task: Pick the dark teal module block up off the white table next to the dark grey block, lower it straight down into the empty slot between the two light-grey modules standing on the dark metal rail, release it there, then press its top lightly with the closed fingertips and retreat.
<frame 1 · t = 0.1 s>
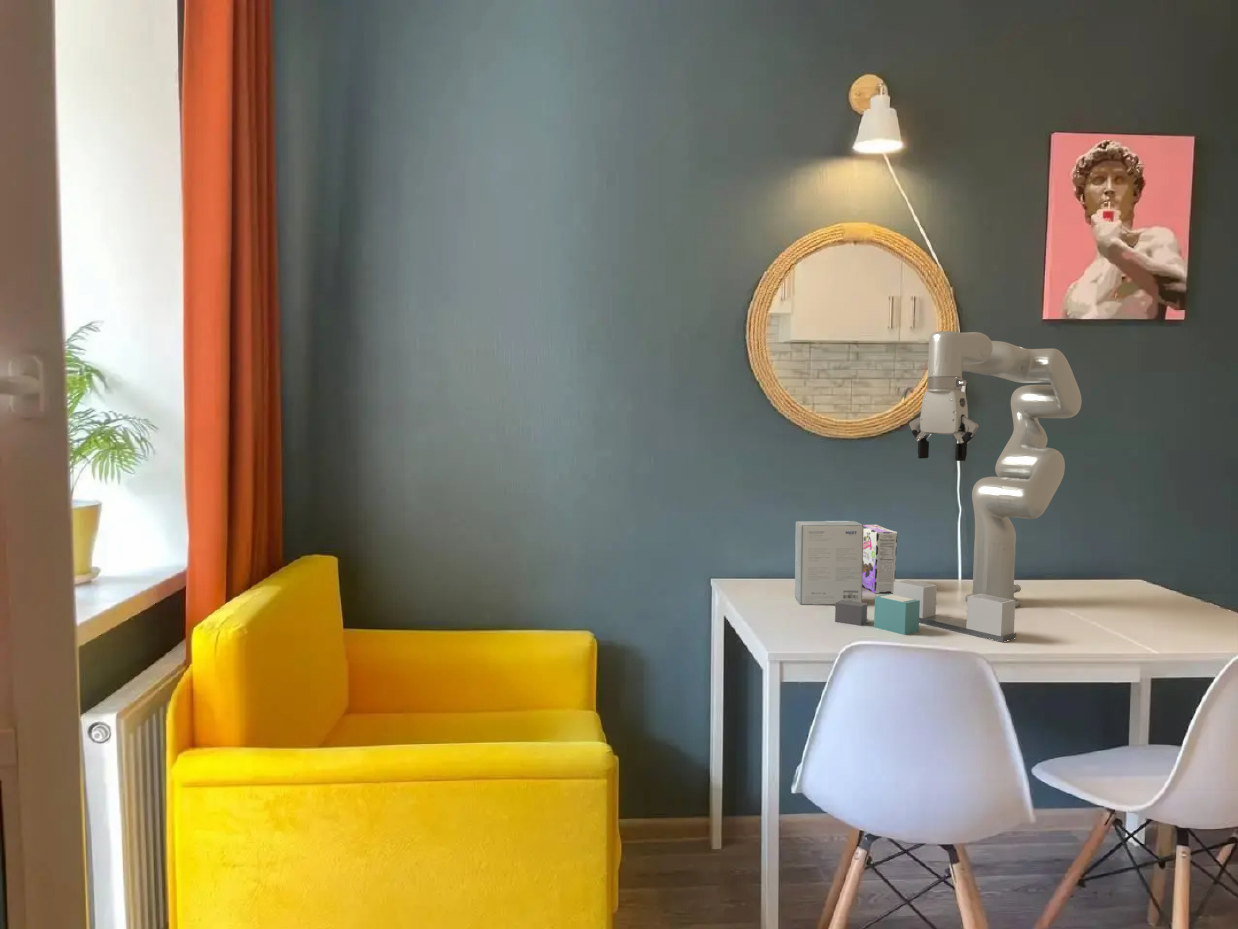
hand: (941, 459, 212), 37 cm above the table, tool pointing down, fingers open, 9 cm apart
hard drive box: (827, 602, 227), on the table
rail: (950, 627, 203), on the table
dark grey block: (850, 622, 207), on the table
candy box: (875, 589, 245), on the table
grey module B: (989, 636, 196), resting on rail
grey module A: (913, 618, 211), resting on rail
teal module: (896, 629, 200), on the table
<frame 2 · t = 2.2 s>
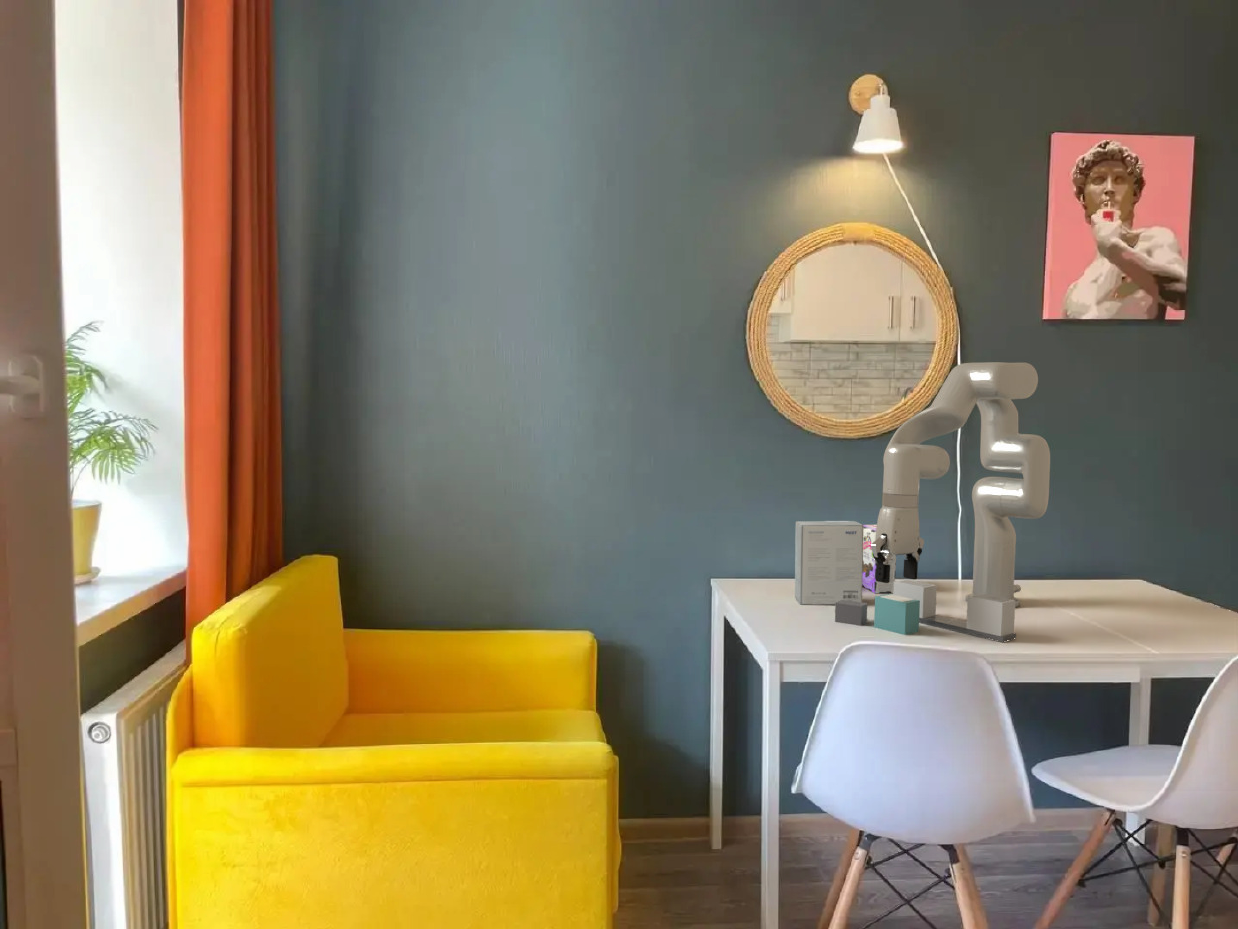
hand: (896, 580, 199), 11 cm above the table, tool pointing down, fingers open, 9 cm apart
nothing on the table moved.
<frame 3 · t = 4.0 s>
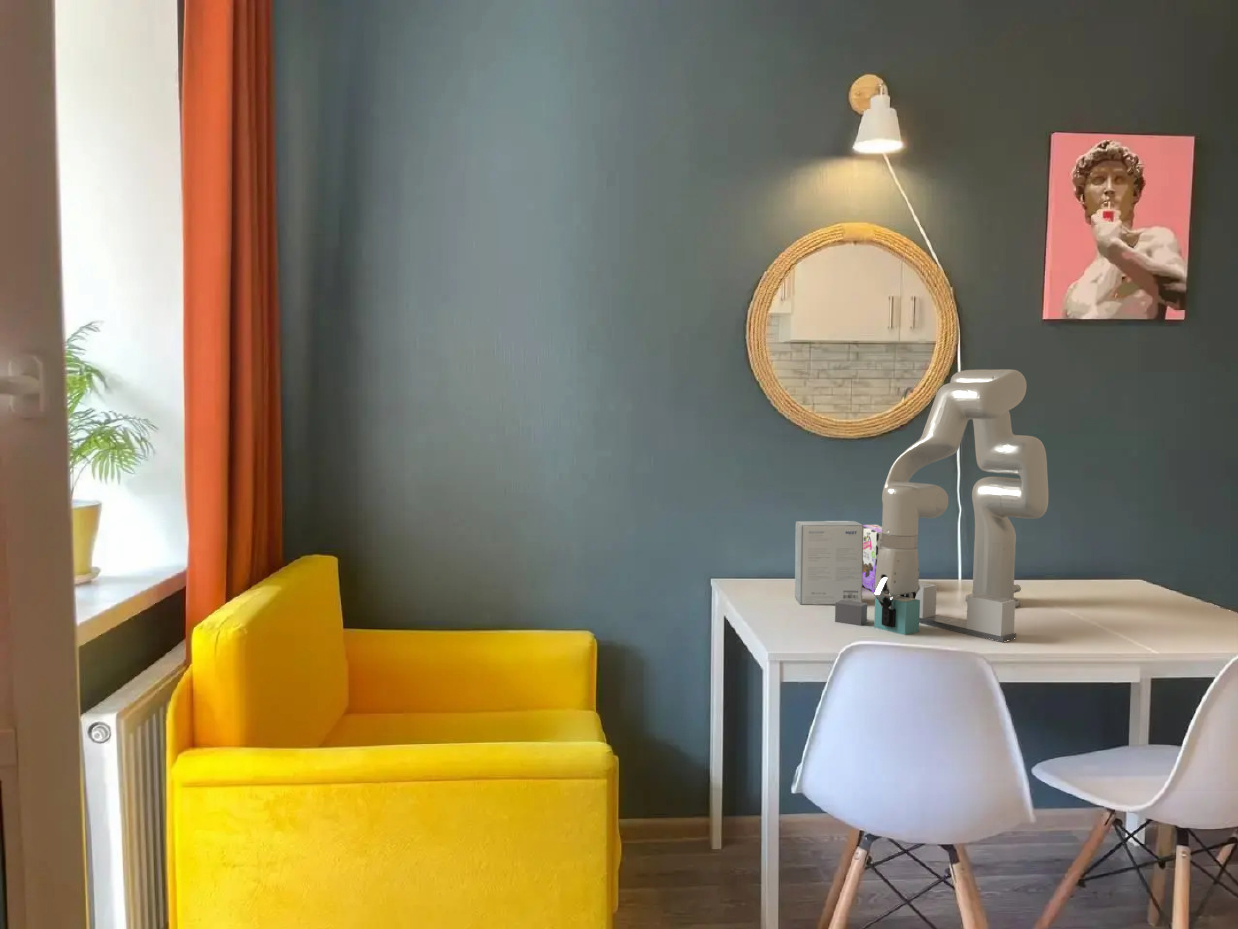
hand: (896, 623, 200), 1 cm above the table, tool pointing down, fingers closed on teal module, 5 cm apart
teal module: (896, 629, 200), on the table, touching gripper
everything else where it was.
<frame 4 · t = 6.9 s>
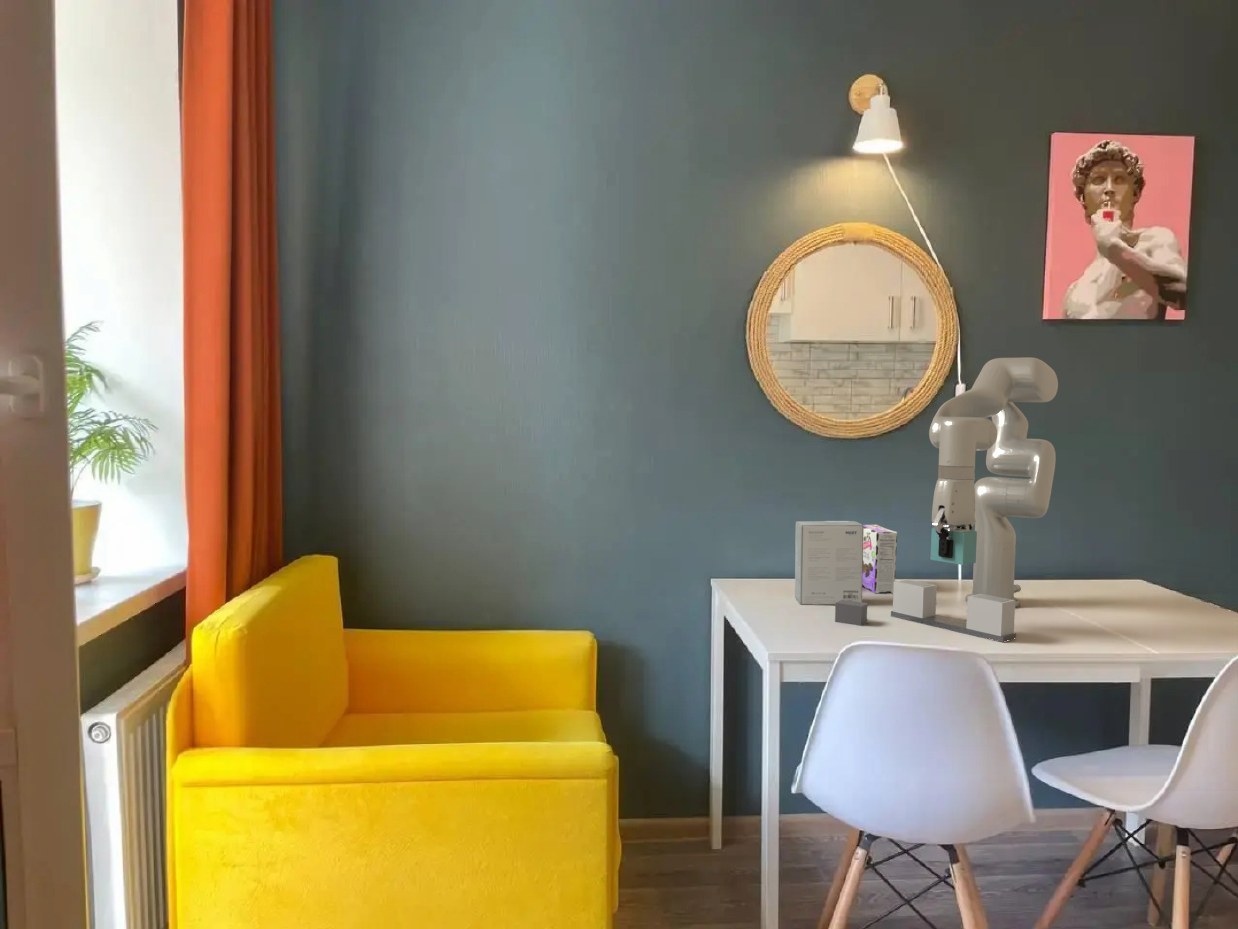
hand: (953, 555, 202), 16 cm above the table, tool pointing down, fingers closed on teal module, 5 cm apart
teal module: (952, 561, 202), point 15 cm above the table, touching gripper
everything else where it was.
when the fingers open (4 cm above the table, at t = 9.8 s): teal module drops 1 cm, resting on rail.
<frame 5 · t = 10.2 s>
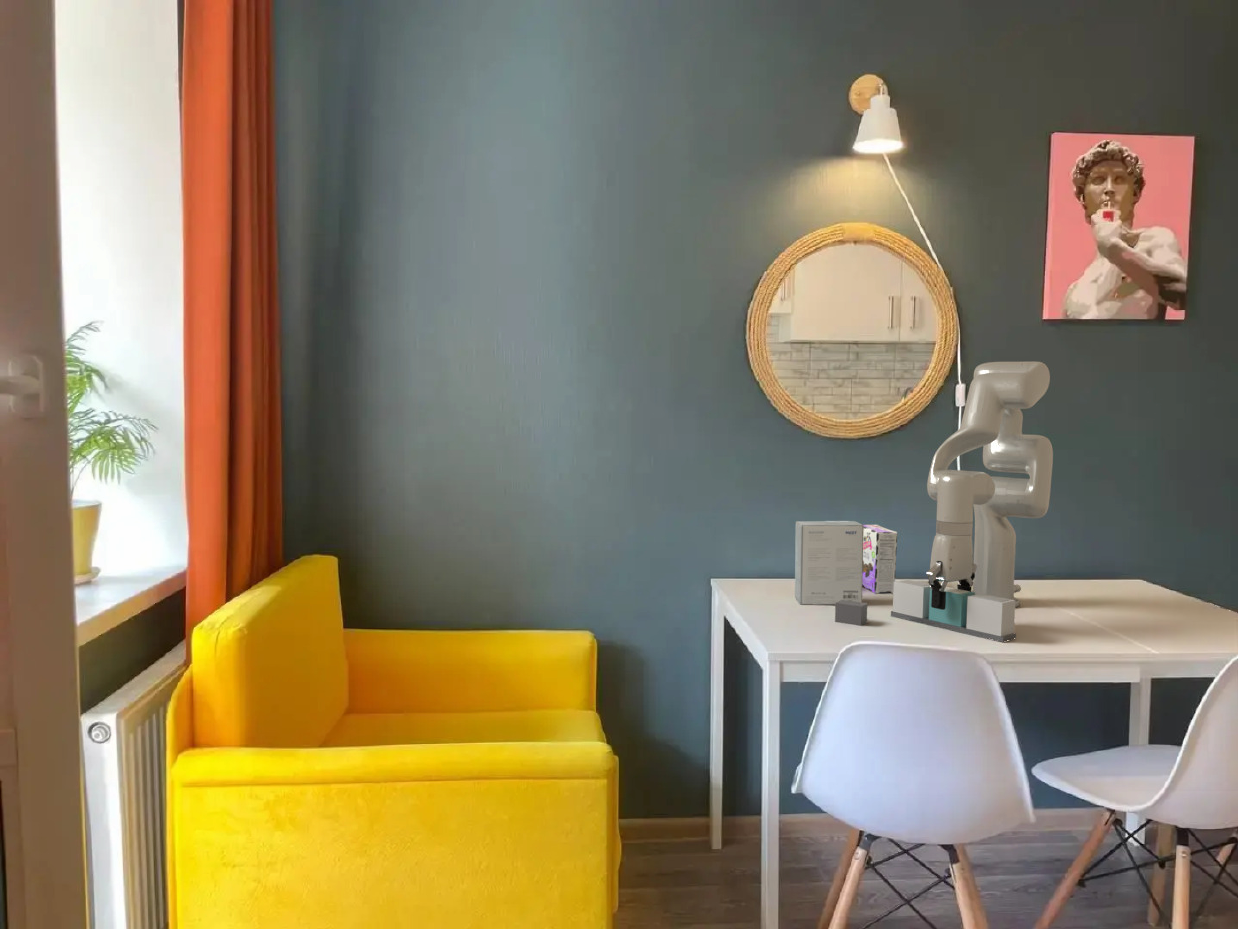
hand: (951, 605, 203), 5 cm above the table, tool pointing down, fingers open, 9 cm apart
teal module: (951, 621, 203), point 1 cm above the table, touching rail
everything else where it was.
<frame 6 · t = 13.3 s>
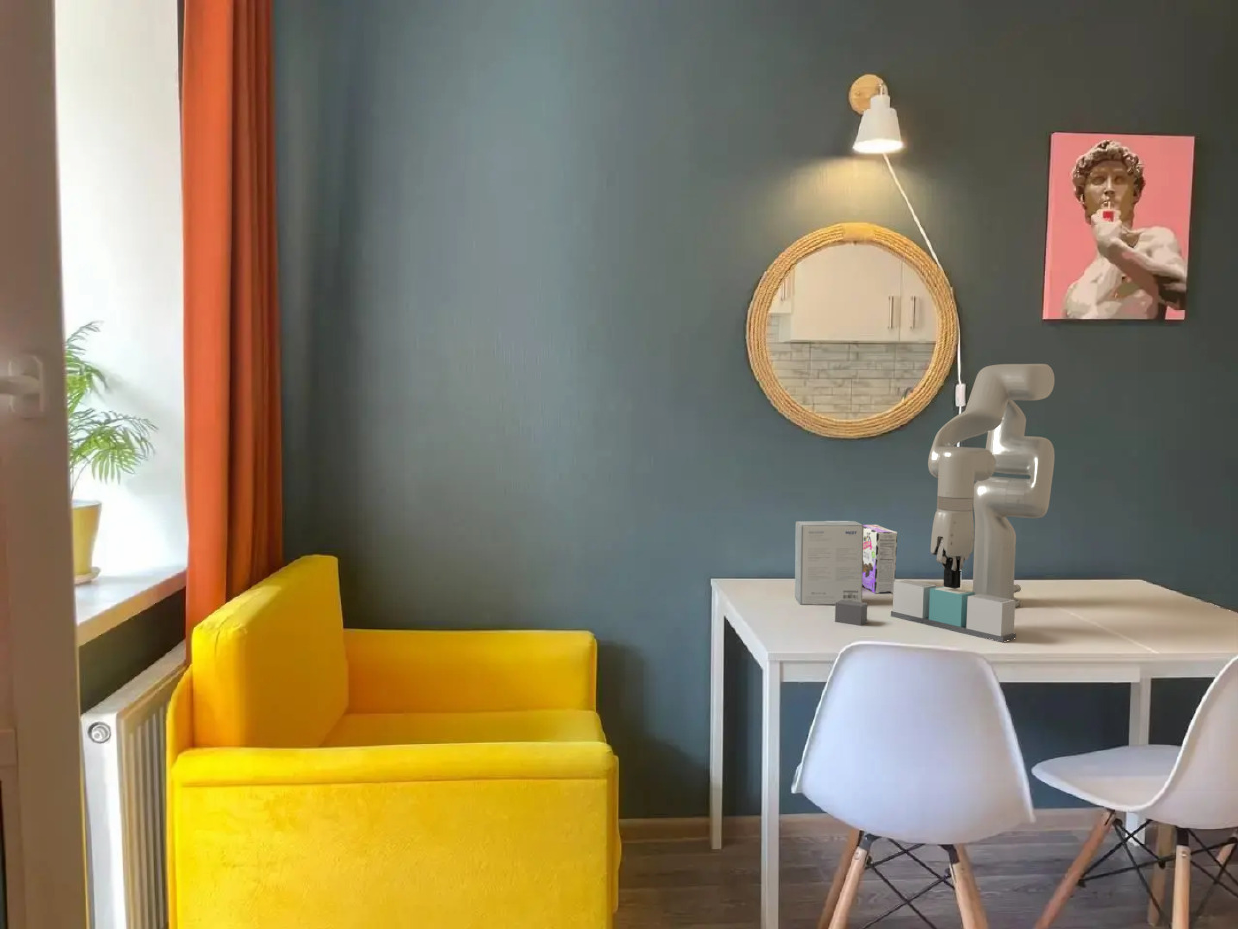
hand: (951, 587, 203), 9 cm above the table, tool pointing down, fingers closed
nothing on the table moved.
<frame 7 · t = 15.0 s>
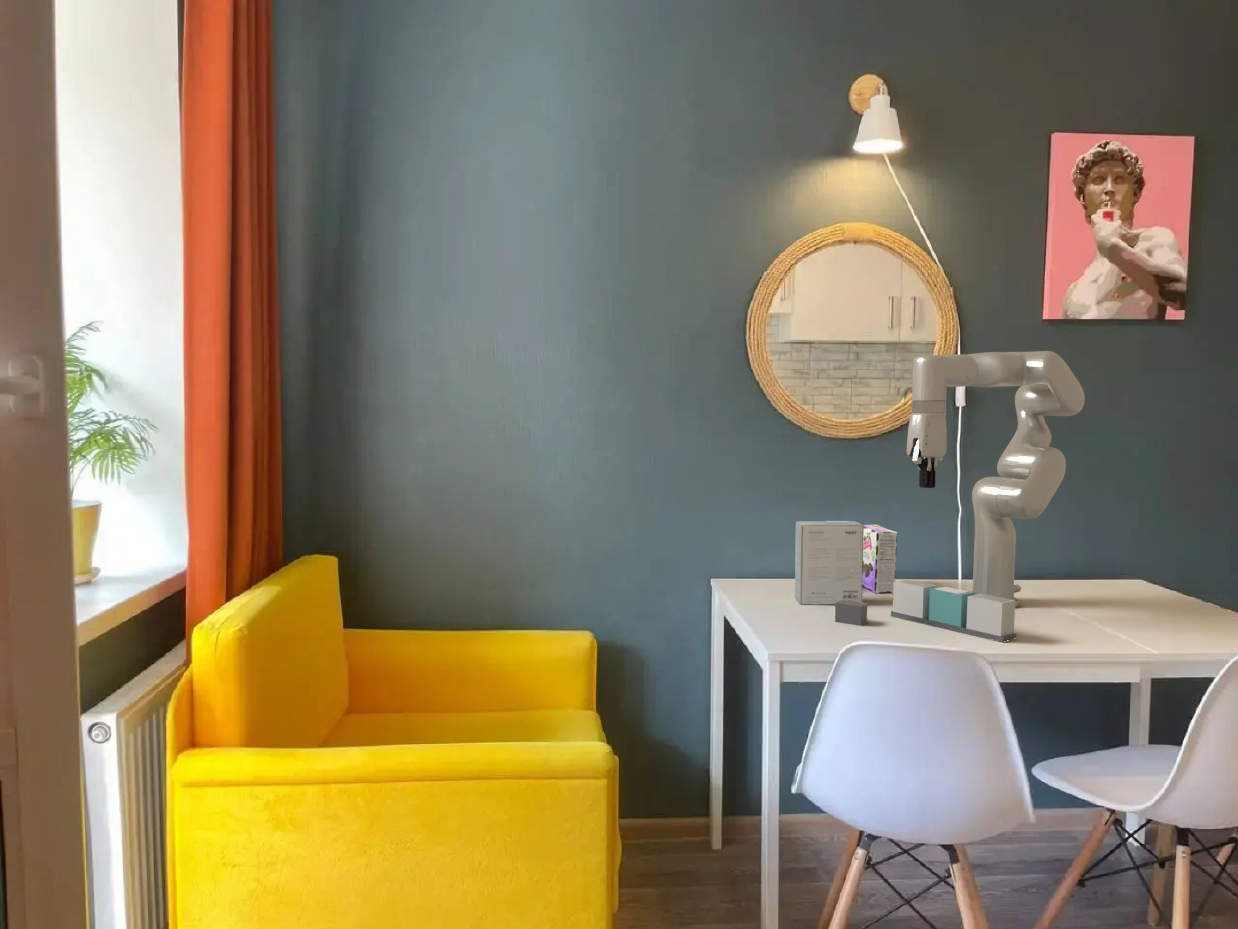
hand: (927, 487, 213), 30 cm above the table, tool pointing down, fingers closed
nothing on the table moved.
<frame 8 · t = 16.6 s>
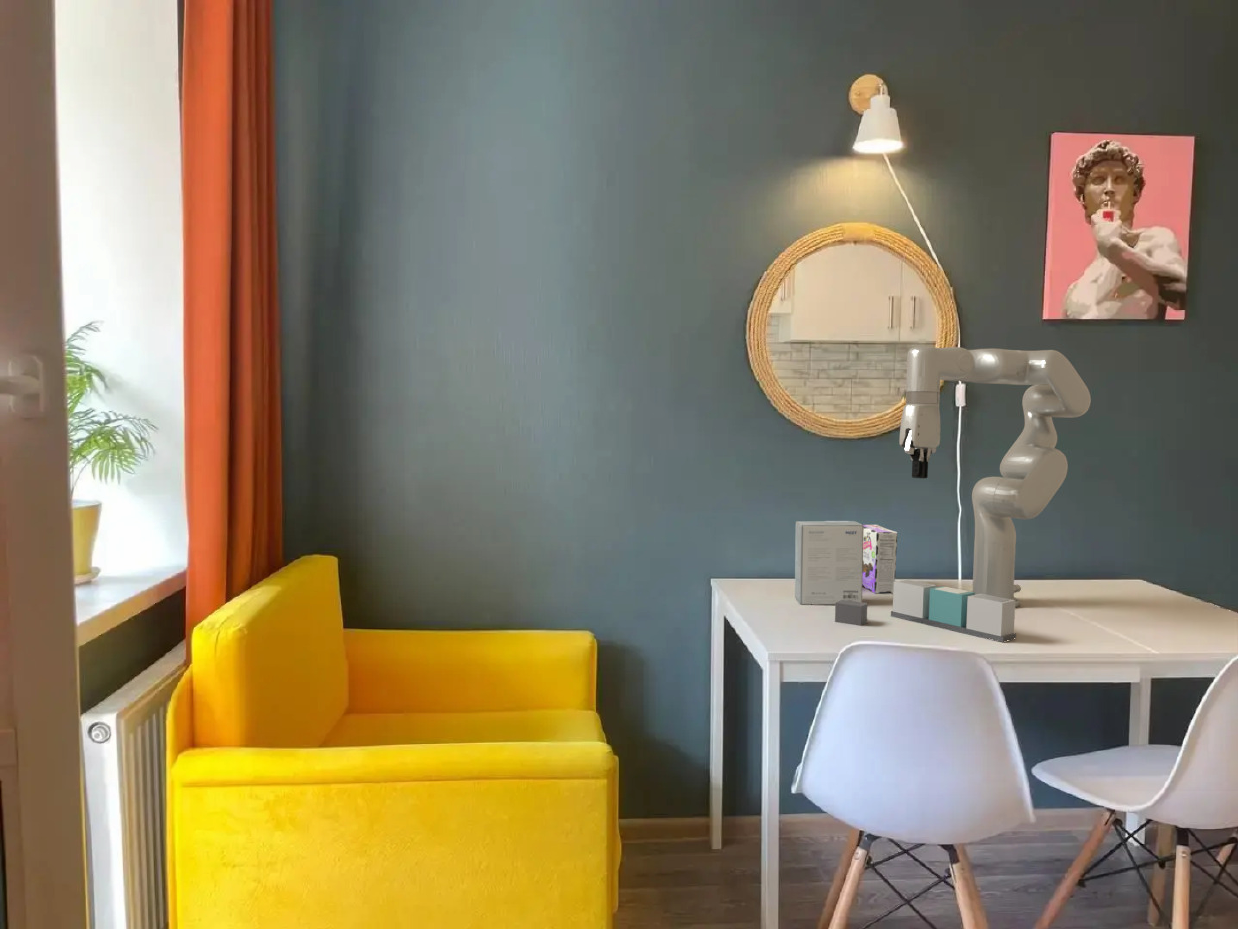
hand: (919, 477, 215), 32 cm above the table, tool pointing down, fingers closed
nothing on the table moved.
at the end: teal module 0.2 cm off-centre on the rail, point 1.2 cm above the rail's base; teal module tilted 0°; the gripper is holding nothing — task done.
